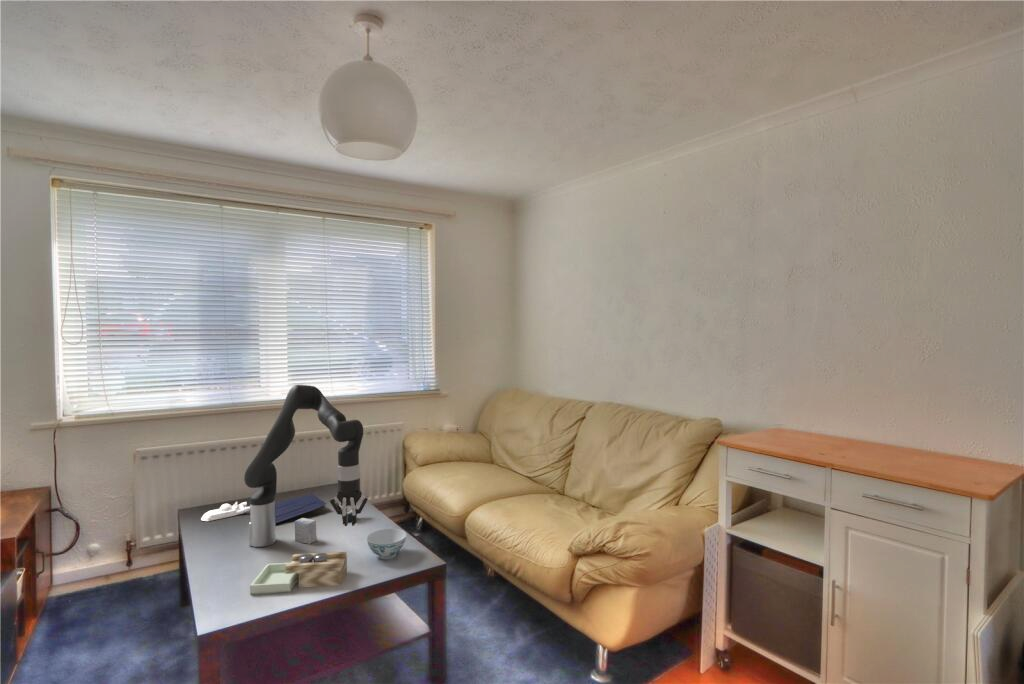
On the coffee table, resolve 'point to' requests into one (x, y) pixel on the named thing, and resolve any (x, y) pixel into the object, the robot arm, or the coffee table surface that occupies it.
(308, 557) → the puck
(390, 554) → the chinaware
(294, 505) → the blue flat panel
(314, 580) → the slotted board
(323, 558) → the puck
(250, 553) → the coffee table surface
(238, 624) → the coffee table surface
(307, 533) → the medicine box
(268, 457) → the robot arm
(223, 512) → the plane toy
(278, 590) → the tray
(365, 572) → the coffee table surface
